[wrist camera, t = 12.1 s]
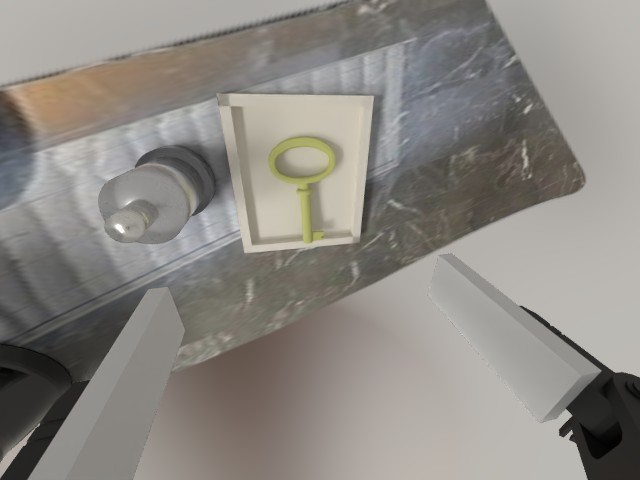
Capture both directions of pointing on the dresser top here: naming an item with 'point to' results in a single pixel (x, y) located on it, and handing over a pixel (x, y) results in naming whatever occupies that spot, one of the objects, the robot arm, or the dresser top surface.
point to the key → (303, 179)
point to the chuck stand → (156, 196)
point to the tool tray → (296, 166)
